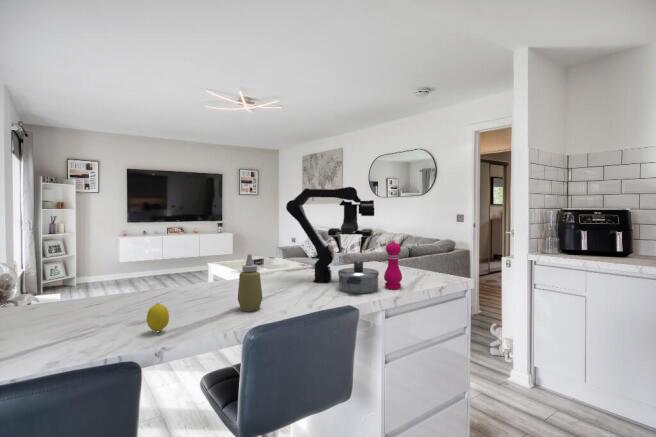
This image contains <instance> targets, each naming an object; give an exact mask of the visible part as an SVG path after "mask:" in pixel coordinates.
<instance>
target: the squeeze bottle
mask: <svg viewBox="0 0 656 437" xmlns="http://www.w3.org/2000/svg"><path fill="white" fill-rule="evenodd" d="M238 280H239V281H238V289H237V290H238V291H237V301H238V304H239V306H240V307H239V308H240V309H241V311H244V312H254V311H257V310H259V309H260V308H261V304H262V300H263V290H262V283H261V273H260V272H259V271H258V265H257V264H255V263H254V260H253V255H252V254H247V257H246V262H245V264H243V265H242V271H241V272H240V273H239V279H238Z"/></svg>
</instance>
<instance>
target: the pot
mask: <svg viewBox="0 0 656 437" xmlns="http://www.w3.org/2000/svg"><path fill="white" fill-rule="evenodd" d="M338 281H339V282H338V287H339V290H340V292H343V293H345V294H354V295H365V294H368V293H369V294H372V293H373V292H374V293H376V292H378V288H379V275H378V276H377V277H374V278H365V279H355V278H346V277H341V276H339V275H338Z"/></svg>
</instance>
